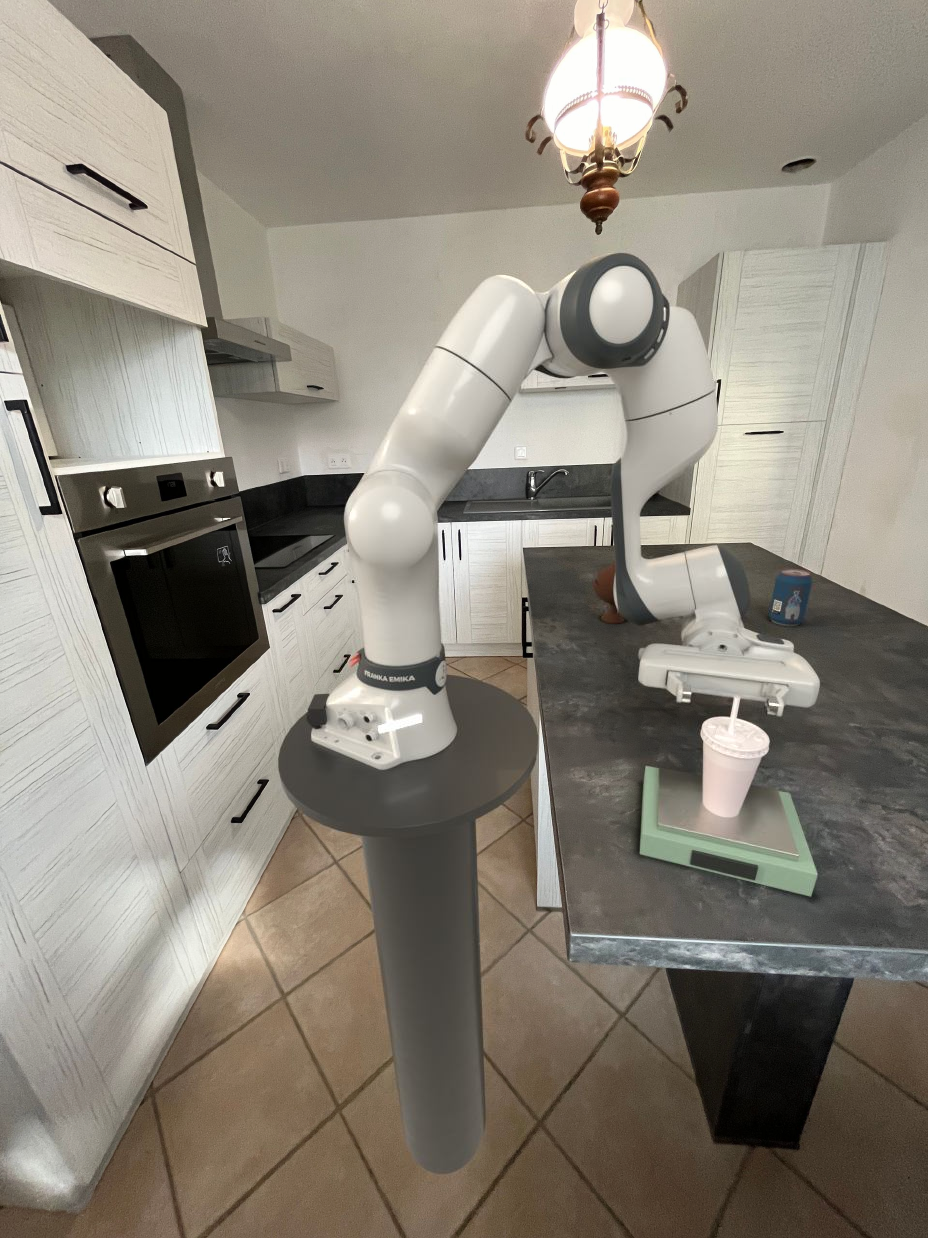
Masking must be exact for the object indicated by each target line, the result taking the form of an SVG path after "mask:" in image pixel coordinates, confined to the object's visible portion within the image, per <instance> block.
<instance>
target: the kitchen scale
mask: <svg viewBox="0 0 928 1238" xmlns="http://www.w3.org/2000/svg"><path fill="white" fill-rule="evenodd" d="M644 768H645V769H644V775H643V785H642V803H641V822H640V823H641V824H640V841H639V854H640V855H641V856H645V857H648V858H649V857H650V858H653V859H656V860H662V861H666V862H669V863H674V864H678V865H681V866H685V867H689V868H693V869H697V870H702V871H706V872H710V873H715V874H716V875H717V874H718V875H722V876H726V877H730V878H734V879H737V880H738V879H739V880H742V881H745V882H750V883H754V884H758V885H763V886H765V887H766V886H767V887H771V888H774V889H778V890H782V891H785V892H786V891H787V892H790V893H793V894H797V895H803V896H806V897H809V898H810V897H812V895H813V891H814V889H815V886H816V882H817V879H818V875H819V873H818V871H817V868H816V865H815V862H814V860H813V857H812V856H813V855H812V854H811V850H810V847H809V844H808V842H807V839H806V836H805V834H804V830H803V828H802V825H801V824H802V823H801V822H800V818H799V816H798V813H797V809H796V807H795V803H794V801H793V797H792V796H791V793H790V792H788V791H787V792H786V791H781V790H778V791H779V794H780V797H781V800H782V803H783V806H784V810H785V813H786V816H787V819H788V822H789V825H790V829H791V832H792V835H793V838H794V841H795V844H796V847H797V851H798V854H799V858H798V861H793V860H789V859H784V858H780V857H776V856H771V855H767V854H762V853H758V852H754V851H749V850H745V849H741V848H736V847H732V846H728V845H723V844H719V843H715V842H710V841H706V840H701V839H697V838H693V837H688V836H684V835H680V834H675V833H671V832H667V831H662V830H658V829H657V821H658V769H659V767H654V766H648V765H645V767H644Z"/></svg>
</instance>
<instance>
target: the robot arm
mask: <svg viewBox="0 0 928 1238" xmlns="http://www.w3.org/2000/svg"><path fill="white" fill-rule="evenodd" d="M533 371H536V372H539V373H541V374H544V375H547V376H549V377H551V378H557V379H573V378H575V377H589V376H593V375H596V374H598V373H603V374H605V375H606V376H608V377H609V379H610V380H611V381H612V382H613V384H614V386H615V388H616V390H617V392H618V395H619V397H620V403H621V409H622V414H623V419H624V423H625V430H626V431H625V433H626V437H625V445H624V450H623V452H622V455H621V457H619V458H618V459H617V460H616V461H615V462H614V463H613V466H612V470H611V477H610V502H611V503H610V504H611V506H610V507H611V524H612V525H611V526H612V539H613V541H612V543H613V555H614V557H613V558H614V561H615V578H614V589H613V591H614V601H615V605H616V607H617V612H618V613H619V614H620V615H621V616H622V617H624V619H625V620H627V621H628V622H631V623H632V624H634V625H636V626H640V627H641V626H646V625H649V624H653V623H657V622H661V621H663V620H668V619H675V618H679V617H682V619H681V626H680V634H681V635H680V636H681V637H680V638H681V643H682V644H681V645H679V644H670V643H659V642H658V643H651V644H648V645H647V646H646V647H640V648H639V650H638V652H637V657H638V659H639V668H638V677H637V678H638V679H637V680H638V682H639V683H640V684H641V685H643V686H644V687H649V688H656V689H664V690H666V691H668V692H669V693H670V694H672V695H673V696H675V698H676V703H680V704H681V703H682V704H688V705H689V704H691V699H692V693H693V694H700V695H707V696H708V695H709V696H715V697H723V698H730V699H734V696H739V697H740V700H744V701H752V702H759V703H761V702H762V703H764V707H763V709H764V712H765V715H768V716H774V717H778V718H779V717H780V718H781V717H783V713H784V707H786V706H789V707H790V706H791V707H797V708H803V709H804V708H805V709H808V708H810V707H813V706H814V705H815V704H816V702H817V700H818V697H819V692H820V687H821V681H820V680H821V679H820V677H819V675H818V674H817V673H816V671H815V669H814V668H813V666H812V665H811V663H809V662H808V661H807V660H806V658H804V657H803V656H801V655H800V654H798V653H795V652H794V651H795V645H794V643H793V642H792V641H790V640H787V639H783V638H779V637H774V636H770V635H766V634H762V633H758V632H755V631H752V630H750V629H747V628H745V626H744V623H743V620H742V619H743V618H744V617H745V616H746V614H747V612H748V611H749V608H750V606H751V592H750V585H749V581H748V578H747V575H746V572H745V570H744V567H743V564H742V563H741V561H740V559H739V557H738V555H737V554H735V553H734V552H733V551H732V550H730V549H729V548H727V547H726V546H724V545H721V544H715V545H709V546H703V547H699V548H694V549H690V550H685V551H683V552H677V553H673V554H669V555H664V556H660V557H655V558H650V559H648V558H644V557H643V556H642V544H641V543H642V542H641V511H642V509H643V507H644V506H645V504H646V503H647V502H648V500H649V499H650V498H651V497H653V495H655V494H656V493H657V492H658V491H660V490H661V489H662V488H664V487H665V486H667V485H668V484H670V483H671V482H673V481H675V480H676V479H677V478H679V477H680V476H682V475H683V474H685V473H686V472H688V470H691V468H692V467H694V466H695V465H696V464H697V463H698V462H699V461H700V460H701V459H702V458H703V457H704V456H705V455H706V453H707V452H708V451H709V449H710V448H711V446H712V444H713V443H714V441H715V439H716V436H717V433H718V429H719V416H718V415H719V413H718V400H717V392H716V387H715V381H714V375H713V370H712V366H711V362H710V357H709V355H708V351H707V348H706V344H705V341H704V338H703V335H702V332H701V330H700V328H699V325H698V323H697V320H696V318H695V316H694V314H693V313H692V312H691V311H690V310H688V309H686V308H684V307H683V306H676V305H670V302H669V300H668V299H667V297H666V296H665V295H664V293H663V291H662V288H661V286H660V283H659V281H658V279H657V277H656V276H655V274H654V272H653V271H652V269H651V268H650V267H649V266H648V265H647V263H645V261H644V260H642V259H641V258H639V256H636V255H634V254H631V253H628V252H618V251H617V252H609V253H604V254H601V255H598V256H596V257H592V258H591V259H589V260H588V261H586V262H584V263H583V264H582V265H580V267H579V268H578V269H576V270H575V271H573V272H571V273H570V274H568V275H566V276H564V277H563V278H562V279H560V281H558V282H557V283H556V284H555V285H554V286H552V287H551V288H549V289H548V290H546V291H545V292H539V291H537V290H533V289H532V288H531V287H530V286H529V285H527V284H526V283H525V282H523V281H522V280H521V279H518V278H516V277H513V276H510V275H505V274H496V275H492V276H490V277H487V278H486V279H484V280H483V281H481V283H479V284H478V286H476V288H475V289H474V290H473V291H472V293H470V295H469V296H468V297H467V299H466V300H465V301H464V303H463V304H462V305H461V306H460V307H459V309H458V310H457V312H456V313H455V315H454V316H453V317H452V318H451V320H450V321H449V323H448V325H447V326H446V327H445V329H444V331H443V332H442V334H441V335H440V337H439V339H438V340H437V342H436V344H435V345H434V348H433V350H432V351H431V354H429V357H428V358H427V360H426V361H425V364H424V365H423V367H422V369H421V371H420V372H419V374H418V376H417V377H416V380H415V382H414V383H413V384H412V387H411V388H410V391H409V392H408V394H407V395H406V397H405V399H404V401H403V403H402V405H401V406H400V408H399V410H398V412H397V414H396V415H395V418H394V420H393V421H392V423H391V425H390V427H389V429H388V431H387V432H386V434H385V435H384V438H383V439H382V441H381V443H380V445H379V446H378V448H377V450H376V452H375V454H374V455H373V458H372V459H371V460H370V462H369V465H368V467H367V468H366V471H365V472H364V474H363V475H362V476H361V479H360V481H358V482H359V483H358V484H357V485H356V487H355V489H353V491H352V492H351V494H350V496H349V498H348V500H347V502H346V503H345V507H344V513H343V524H344V531H345V538H346V543H347V549H348V555H349V561H350V566H351V567H350V568H351V572H352V577H353V582H354V586H355V592H356V596H357V601H358V608H359V615H360V624H361V625H360V626H361V633H362V641H363V647H362V648H360V649H359V650H357V652H356V655H354V656H352V657H351V658H350V659H349V660H348V661H349V662H351V663H350V664H349V667H350V668H352V667H354V666H355V665H357V664H358V665H357V669H356V670H355V671H354V672H353V673H352V674H350V675H349V676H348V677H347V678H346V679H344V680H343V681H342V682H341V683H340V684H338V685H337V686H336V687H335V688H334V689H333V690H332V691H331V692H330V693H317V694H316V693H315V694H314V695H313V697H312V698H311V701H310V703H309V706H308V708H307V711H306V712H307V715H306V719H307V721H308V723H309V724H310V725H311V726H312V727H313V729H312V732H311V740H312V741H313V742H315V743H317V744H320V745H322V746H324V747H327V748H329V749H331V750H334V751H336V752H339V753H341V754H343V755H346V756H348V757H351V758H353V759H355V760H358V761H360V762H363V763H365V764H367V765H370V766H372V767H374V768H377V769H380V770H386V769H389V768H392V767H394V766H397V765H399V764H401V763H403V762H407V761H413V760H418V759H422V758H426V757H429V756H432V755H434V754H436V753H438V752H440V751H442V750H443V749H445V748H446V747H447V746H449V745H450V744H451V742H452V741H453V740H454V738H455V736H456V734H457V725H456V723H455V721H454V718H453V715H452V712H451V709H450V705H449V701H448V697H447V692H446V685H445V684H446V675H448V674H447V673H448V672H447V669H448V668H447V660H446V650H445V645H444V644H443V642H442V629H441V628H442V627H441V612H440V611H441V609H440V553H439V552H440V550H439V549H440V547H439V518H438V510H439V509H440V507H441V506H442V504H443V503H444V501H445V500H446V499H447V498H448V496H449V495H450V494H451V492H452V490H453V489H454V488H455V486H456V485H457V484H458V482H459V481H460V480H461V479H462V477H463V476H464V475H465V473H466V472H467V471H468V470H469V468H470V467H471V466H472V465H473V464H474V463H475V461H476V460H477V459H478V457H479V455H480V454H481V452H482V450H483V449H484V447H485V446H486V444H487V442H488V441H489V438H491V436H492V434H493V432H494V431H495V429H496V428H497V426H498V424H499V423H500V421H502V418H503V416H504V415H505V413H506V412H507V410H508V409H509V406H510V405H511V403H512V402H513V400H514V399H515V397H516V395H517V393H518V392H519V390H520V388H521V386H522V384H523V383H524V381H525V380H526V379H527V378H528V377H529V376H530V374H531V373H532V372H533Z"/></svg>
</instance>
